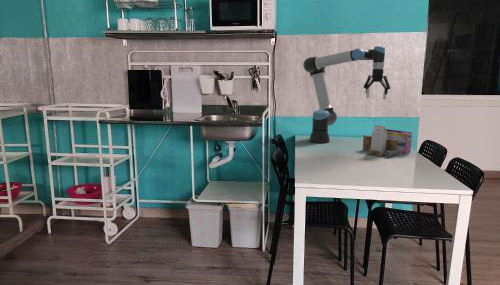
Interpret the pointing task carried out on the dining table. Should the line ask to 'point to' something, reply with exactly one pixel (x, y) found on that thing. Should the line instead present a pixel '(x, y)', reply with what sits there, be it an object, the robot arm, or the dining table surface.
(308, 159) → the dining table surface
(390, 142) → the walnut shelf
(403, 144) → the gum box
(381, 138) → the milk carton
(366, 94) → the robot arm
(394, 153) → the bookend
